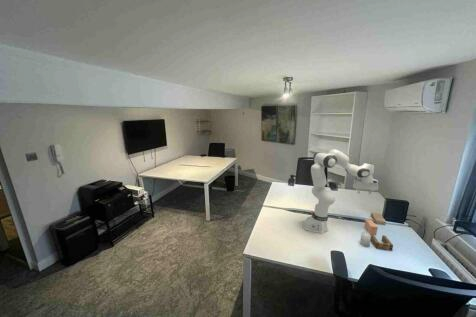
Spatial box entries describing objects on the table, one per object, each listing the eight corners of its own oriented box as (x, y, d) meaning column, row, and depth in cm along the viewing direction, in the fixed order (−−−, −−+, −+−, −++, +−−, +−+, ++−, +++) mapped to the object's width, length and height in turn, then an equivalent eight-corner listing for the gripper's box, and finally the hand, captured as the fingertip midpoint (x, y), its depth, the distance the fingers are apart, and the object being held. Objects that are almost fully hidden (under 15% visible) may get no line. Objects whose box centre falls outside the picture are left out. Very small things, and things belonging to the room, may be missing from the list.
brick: (385, 225, 178) (386, 221, 176) (375, 224, 180) (376, 219, 179) (379, 217, 193) (380, 213, 192) (370, 215, 196) (370, 211, 194)
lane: (375, 248, 147) (376, 243, 146) (369, 239, 159) (370, 233, 158) (392, 250, 145) (393, 245, 144) (384, 240, 156) (385, 235, 155)
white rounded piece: (361, 246, 150) (363, 236, 148) (358, 241, 157) (360, 231, 154) (370, 247, 149) (372, 237, 147) (367, 242, 155) (368, 232, 153)
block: (369, 234, 165) (371, 226, 163) (364, 226, 176) (365, 219, 174) (376, 235, 164) (377, 227, 162) (370, 227, 175) (371, 219, 173)
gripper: (355, 180, 172) (353, 193, 175) (380, 181, 168) (377, 195, 171) (352, 177, 178) (350, 191, 181) (377, 179, 174) (374, 193, 177)
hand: (364, 193), depth 176 cm, fingers open, 8 cm apart
